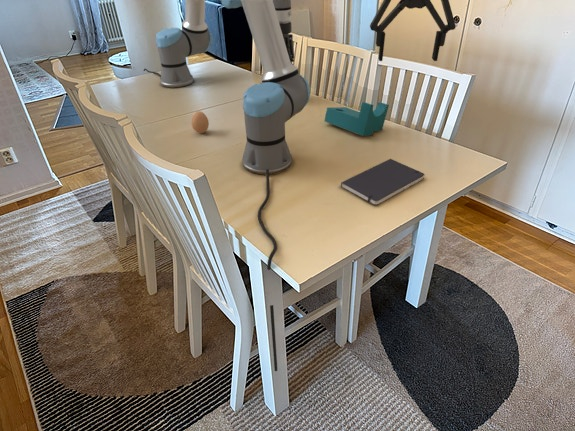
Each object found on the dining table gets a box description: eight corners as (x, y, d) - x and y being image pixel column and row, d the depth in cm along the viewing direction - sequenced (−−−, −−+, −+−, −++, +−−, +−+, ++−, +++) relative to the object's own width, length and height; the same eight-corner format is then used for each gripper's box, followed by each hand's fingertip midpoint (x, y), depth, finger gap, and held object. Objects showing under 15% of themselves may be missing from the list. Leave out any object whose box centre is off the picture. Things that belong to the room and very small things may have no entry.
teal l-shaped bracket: (380, 134, 144) (388, 104, 140) (363, 135, 137) (370, 104, 132) (342, 120, 155) (349, 92, 151) (324, 121, 148) (330, 92, 143)
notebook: (389, 163, 124) (340, 187, 113) (390, 158, 123) (341, 182, 112) (424, 178, 116) (375, 206, 105) (425, 174, 115) (376, 201, 104)
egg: (195, 137, 143) (191, 115, 138) (191, 131, 147) (187, 110, 142) (211, 134, 144) (208, 112, 140) (207, 127, 149) (204, 107, 144)
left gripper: (276, 27, 144) (279, 90, 158) (302, 17, 160) (302, 75, 173) (258, 26, 147) (262, 87, 161) (285, 16, 163) (287, 73, 176)
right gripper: (473, -41, 93) (453, 55, 105) (364, -38, 95) (357, 55, 108) (483, -38, 87) (461, 63, 99) (366, -36, 89) (358, 63, 101)
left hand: (283, 81), depth 167 cm, fingers closed on canister, 9 cm apart
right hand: (407, 59), depth 104 cm, fingers open, 13 cm apart
